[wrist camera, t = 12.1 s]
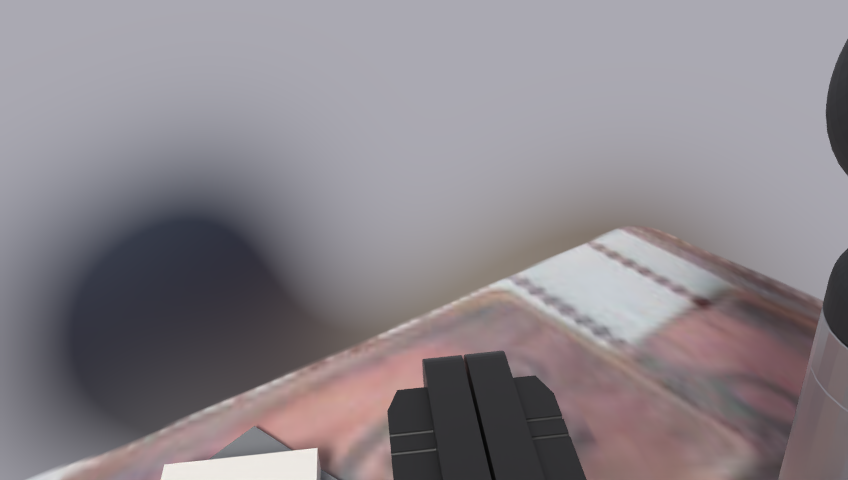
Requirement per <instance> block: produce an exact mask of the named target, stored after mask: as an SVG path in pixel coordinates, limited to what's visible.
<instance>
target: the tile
mask: <svg viewBox="0 0 848 480" xmlns="http://www.w3.org/2000/svg"><path fill="white" fill-rule="evenodd" d="M161 480H321V467H320V461H319V455H318V448H313V449H303V450H294V451H285V452H276V453H267V454H258V455H248V456H239V457H230V458H221V459H212V460H203V461H193V462H184V463H175V464H166V465H164V469H163V473H162V477H161Z"/></svg>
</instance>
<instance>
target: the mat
mask: <svg viewBox="0 0 848 480" xmlns="http://www.w3.org/2000/svg"><path fill="white" fill-rule="evenodd" d="M285 451H292V450H291V449H289V448H288V447H286V446H285V445H283V444H282V443H280V442H278V441H277V440H275V439H274V438H272V437H271V436H269V435H268V434H266V433H264V432H263V431H261V430H260V429H258V428H257V427H255V426H254V427H252V428H251V429H250V430H248V431H247V432H245V433H244V434H243V435H241V436H240V437H239V438H237V439H236V440H235V441H233V442H232V443H230V444H229V445H228V446H226V447H225V448H224V449H222V450H221V451H220V452H218V453H217V454H215V455H214V456H213V457H211V458H210V459H209V460H212V459H221V458H230V457H239V456H248V455H258V454H267V453H276V452H285ZM321 480H337V479H336V478H334V477H333V476H331V475H330V474H328V473H326V472H325V471H323V470H322V469H321Z"/></svg>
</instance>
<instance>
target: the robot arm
mask: <svg viewBox="0 0 848 480" xmlns="http://www.w3.org/2000/svg"><path fill="white" fill-rule="evenodd" d="M826 120H827V132H828V136H829V140H830V144H831V147H832V150H833V152H834V154H835V157H836V159H837V161H838V163H839V165H840V166H841V167H842V169H843V170H844V171H845V173H846V174H847V175H848V40H847V41H846V43H845V45H844V47H843V49H842V52H841V53H840V55H839V58H838V60H837V63H836V65H835V69H834V71H833V74H832V77H831V81H830V85H829V91H828V96H827V104H826ZM423 381H424V388H414V389H404V390H397V392H396V394H395V396H394V398H393V401H392V403H391V405H390V407H389V409H388V422H389V433H390V444H391V455H392V467H393V478H394V480H586V477H585V475H584V472H583V469H582V467H581V464H580V462H579V459H578V456H577V454H576V451H575V448H574V446H573V443H572V440H571V438H570V437H569V434H568V430H567V427H566V425H565V422H564V419H562V414H561V411H560V409H559V406H558V404H557V401H556V398H555V396H554V393H553V392H552V391H551V390H550V389H549V388H548V387H547V386H545V385H544V384H543V383H542V382H541V381H540V380H539V379H538V378H537V377H536V376H527V377H517V378H513V377H512V374H511V371H510V368H509V365H508V361H507V358H506V355H505V353H504V351H496V352H486V353H476V354H467V355H464V360H463V358H462V355H458V356H449V357H439V358H429V359H423ZM778 480H848V249H847V250H846V251H845V252H844V253H843V254H842V255H841V256H840V257H839V259H838V260H837V262H836V263H835V265H834V267H833V270H832V272H831V275H830V278H829V282H828V286H827V290H826V294H825V298H824V302H823V307H822V310H821V314H820V318H819V322H818V326H817V329H816V333H815V337H814V341H813V345H812V349H811V353H810V358H809V362H808V366H807V370H806V374H805V377H804V381H803V385H802V389H801V393H800V397H799V401H798V404H797V408H796V412H795V416H794V420H793V424H792V428H791V431H790V435H789V439H788V443H787V447H786V451H785V455H784V458H783V462H782V466H781V470H780V474H779V478H778Z"/></svg>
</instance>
